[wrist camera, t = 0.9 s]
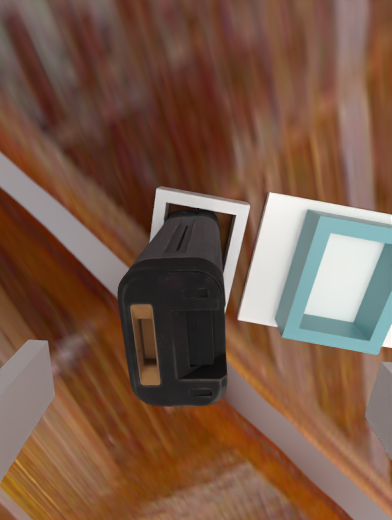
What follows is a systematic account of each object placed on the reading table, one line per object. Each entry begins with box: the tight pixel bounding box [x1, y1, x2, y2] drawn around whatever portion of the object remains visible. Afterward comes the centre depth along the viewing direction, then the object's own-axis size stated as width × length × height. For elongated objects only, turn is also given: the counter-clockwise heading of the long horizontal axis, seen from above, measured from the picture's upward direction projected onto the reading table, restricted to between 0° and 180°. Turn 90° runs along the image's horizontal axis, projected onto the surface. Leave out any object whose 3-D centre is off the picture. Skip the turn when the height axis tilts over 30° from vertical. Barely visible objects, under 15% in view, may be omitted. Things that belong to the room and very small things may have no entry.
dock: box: [237, 192, 392, 355], centre depth 33 cm, size 20×16×5 cm
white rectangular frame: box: [150, 186, 250, 312], centre depth 34 cm, size 10×13×3 cm
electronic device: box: [118, 209, 227, 406], centre depth 26 cm, size 9×6×20 cm, turn 3°
